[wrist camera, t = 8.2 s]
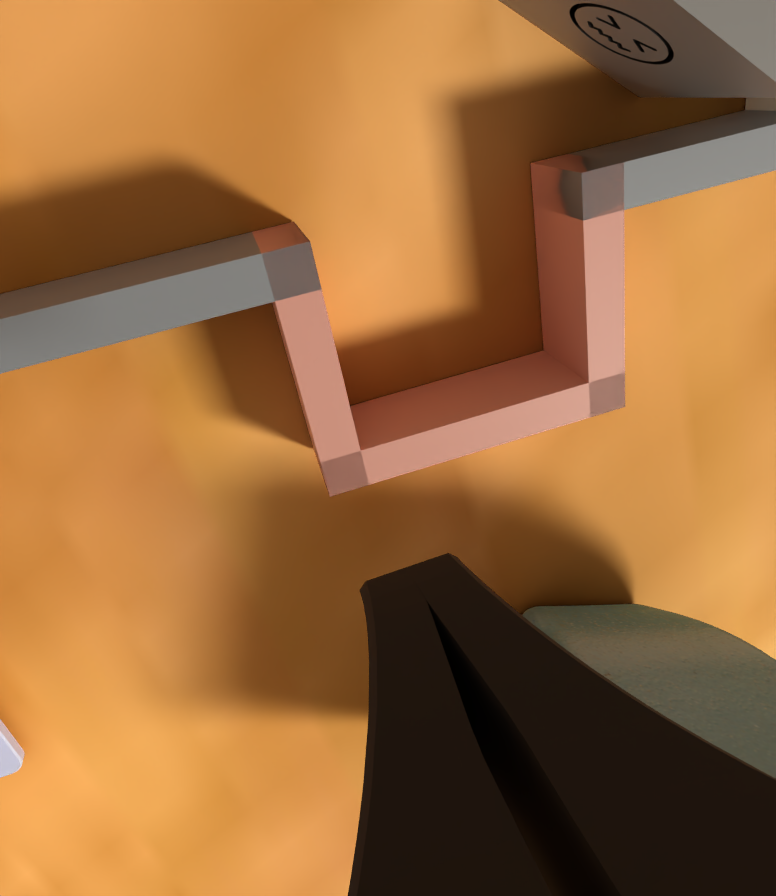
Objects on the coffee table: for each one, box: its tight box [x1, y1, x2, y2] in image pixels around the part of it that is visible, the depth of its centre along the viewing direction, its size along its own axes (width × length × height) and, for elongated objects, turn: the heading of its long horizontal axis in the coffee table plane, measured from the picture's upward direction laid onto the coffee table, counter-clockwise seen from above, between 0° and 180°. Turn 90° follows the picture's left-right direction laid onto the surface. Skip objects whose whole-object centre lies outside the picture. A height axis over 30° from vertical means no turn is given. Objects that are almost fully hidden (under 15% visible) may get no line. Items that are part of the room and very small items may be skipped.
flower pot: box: [522, 604, 776, 778], centre depth 21 cm, size 9×9×9 cm
